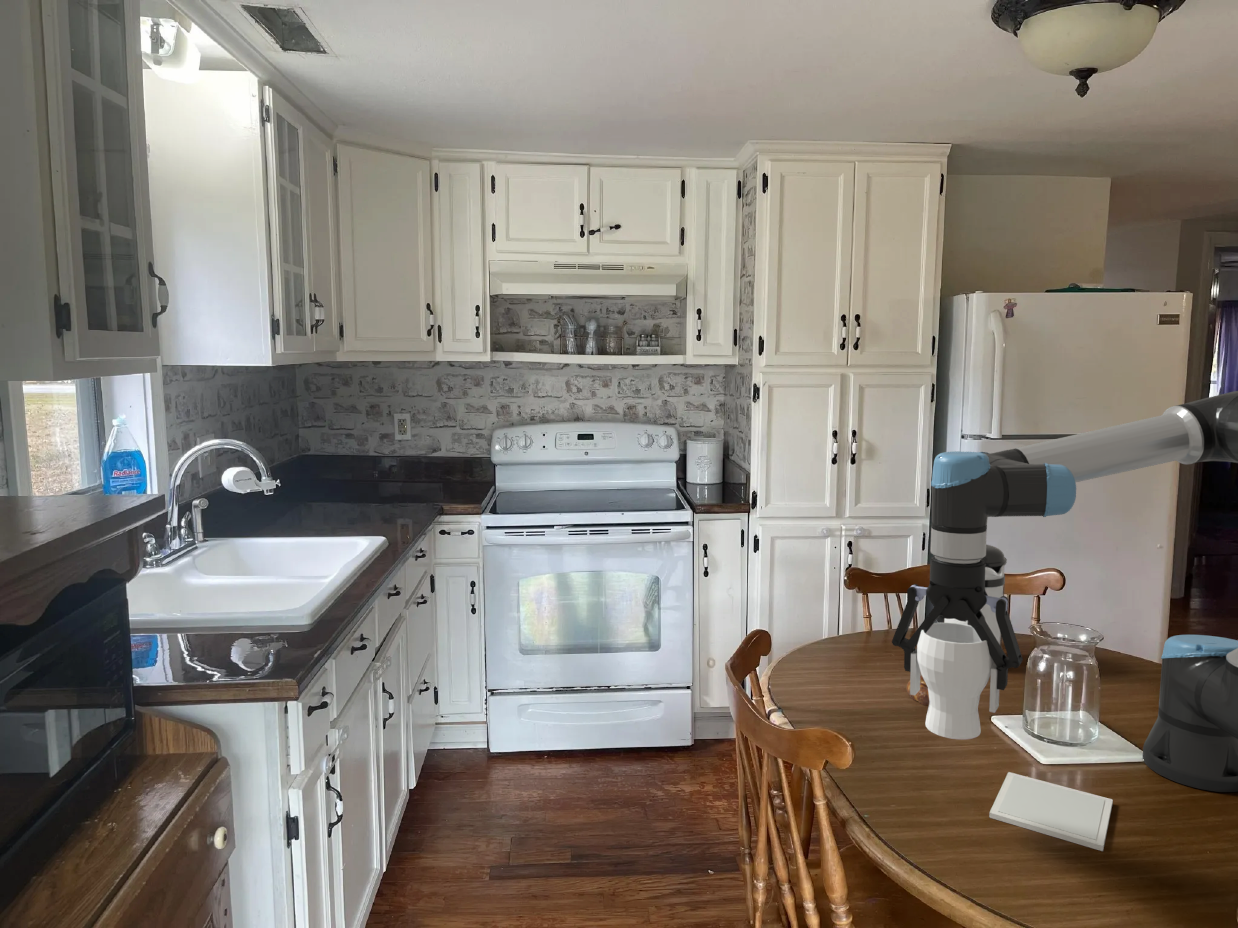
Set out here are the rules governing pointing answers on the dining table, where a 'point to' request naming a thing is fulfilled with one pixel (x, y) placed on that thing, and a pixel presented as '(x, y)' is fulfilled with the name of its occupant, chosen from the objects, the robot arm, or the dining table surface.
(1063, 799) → the coaster
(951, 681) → the cup
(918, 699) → the brown braided bread ring
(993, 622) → the coffee press
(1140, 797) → the dining table surface
